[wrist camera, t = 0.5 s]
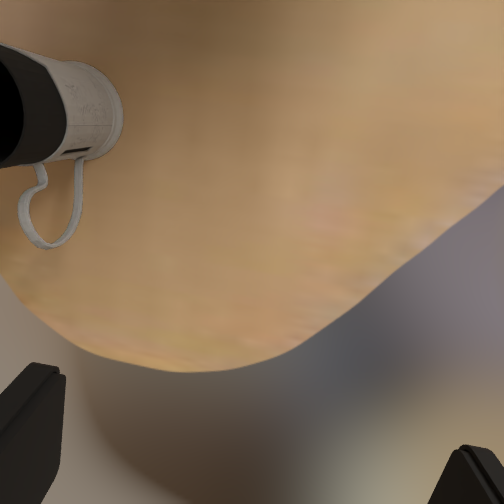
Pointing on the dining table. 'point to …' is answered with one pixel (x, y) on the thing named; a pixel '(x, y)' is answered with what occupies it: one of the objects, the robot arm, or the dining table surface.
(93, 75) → the grey and black mug
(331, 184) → the dining table surface
